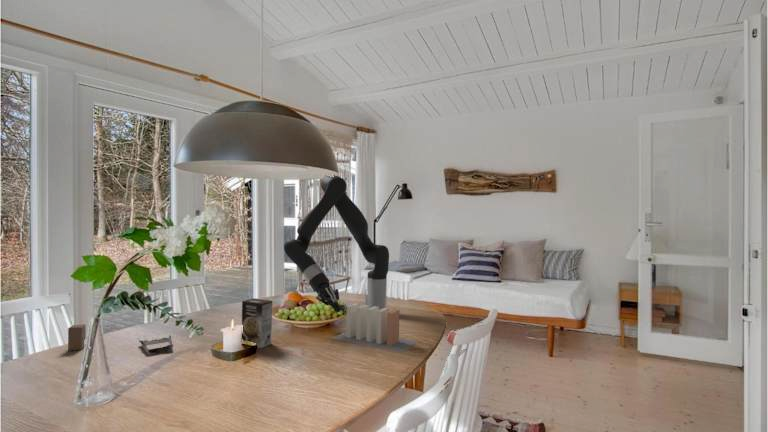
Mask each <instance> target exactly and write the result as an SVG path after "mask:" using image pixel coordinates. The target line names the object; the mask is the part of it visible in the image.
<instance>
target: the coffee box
mask: <svg viewBox="0 0 768 432" xmlns="http://www.w3.org/2000/svg"><path fill="white" fill-rule="evenodd" d="M272 323H273V300H269V299H259V298H254V297H253V298H250V299H245V300H242V301H241V326H242V325H243V333H242V332H241V340H242V339H243V340H244V341H250V342H253V343H256V344H257V349H264V348H265V347H267V346H268V345H269V346H270V345H271V344H272V330H273V329H272V325H273V324H272Z"/></svg>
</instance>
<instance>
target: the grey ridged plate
mask: <svg viewBox="0 0 768 432" xmlns="http://www.w3.org/2000/svg"><path fill="white" fill-rule="evenodd" d="M332 339H333V340H338V341H344V342H348V343H354V344H358V345H363V346H368V347H372V348H377V349H380V350H381V349H382V350H387V351H391V352H395V353H396V352H397V353H403V352H405V351H406V350H407V349H409V348H410V347H412V346H414V345H415V344H417V343H418V342H419V341H417V340H413V339H412V340H411V339H406V338H401V337H399V342H397V343H396V344H394V345H392V346H388V345H387V341H385V342H383V343H382V344H378V343H376V339H375V340H373V341H371V342H368V341H366V337H365V338H363V339H361V340H358V339H356V335H355V336H353V337H351V338H348V337H346V331H345V332H343V333H340V334H338V335H335V336H333V337H332Z"/></svg>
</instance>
